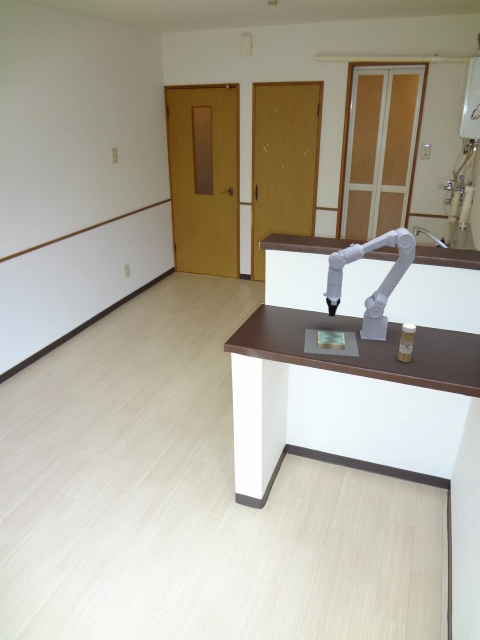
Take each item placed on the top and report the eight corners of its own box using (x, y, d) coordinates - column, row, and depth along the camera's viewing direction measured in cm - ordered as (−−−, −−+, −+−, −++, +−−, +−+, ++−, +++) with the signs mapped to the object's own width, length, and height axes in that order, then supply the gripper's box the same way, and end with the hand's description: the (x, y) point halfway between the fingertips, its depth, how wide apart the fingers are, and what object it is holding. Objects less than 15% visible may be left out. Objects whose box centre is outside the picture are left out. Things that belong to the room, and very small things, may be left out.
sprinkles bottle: (399, 362, 163) (405, 328, 158) (395, 356, 167) (400, 323, 162) (412, 362, 163) (418, 328, 158) (408, 356, 167) (413, 323, 162)
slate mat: (354, 333, 187) (355, 332, 187) (359, 357, 167) (359, 356, 167) (305, 329, 190) (305, 329, 190) (303, 353, 170) (303, 352, 170)
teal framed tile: (343, 332, 181) (345, 344, 171) (343, 337, 182) (344, 349, 172) (318, 331, 182) (318, 342, 172) (317, 335, 183) (317, 347, 173)
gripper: (323, 277, 185) (321, 308, 190) (324, 288, 172) (321, 322, 177) (341, 278, 184) (338, 309, 189) (343, 289, 171) (340, 323, 176)
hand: (331, 315), depth 183 cm, fingers closed
